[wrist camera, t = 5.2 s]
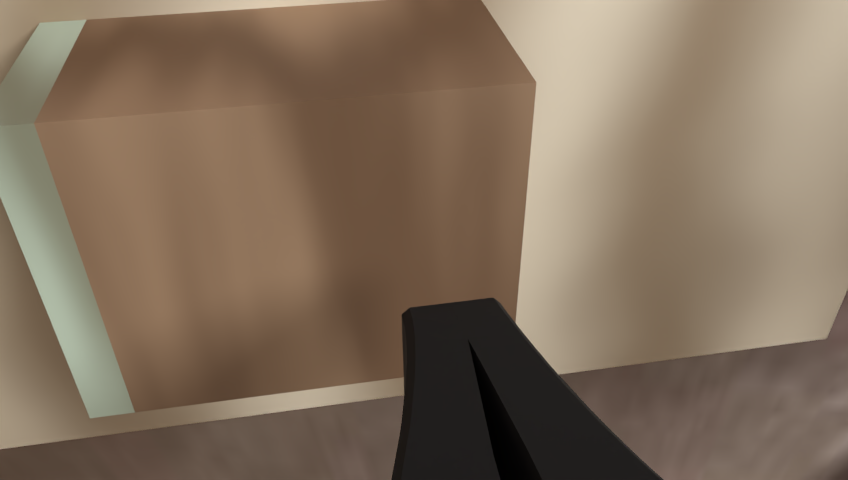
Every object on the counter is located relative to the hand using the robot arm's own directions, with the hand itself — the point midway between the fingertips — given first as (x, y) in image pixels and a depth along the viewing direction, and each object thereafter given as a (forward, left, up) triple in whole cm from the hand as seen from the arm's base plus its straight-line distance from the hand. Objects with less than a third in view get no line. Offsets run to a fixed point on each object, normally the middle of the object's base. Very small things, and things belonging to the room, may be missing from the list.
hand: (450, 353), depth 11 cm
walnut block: (-2, 0, -4) cm, 5 cm away
